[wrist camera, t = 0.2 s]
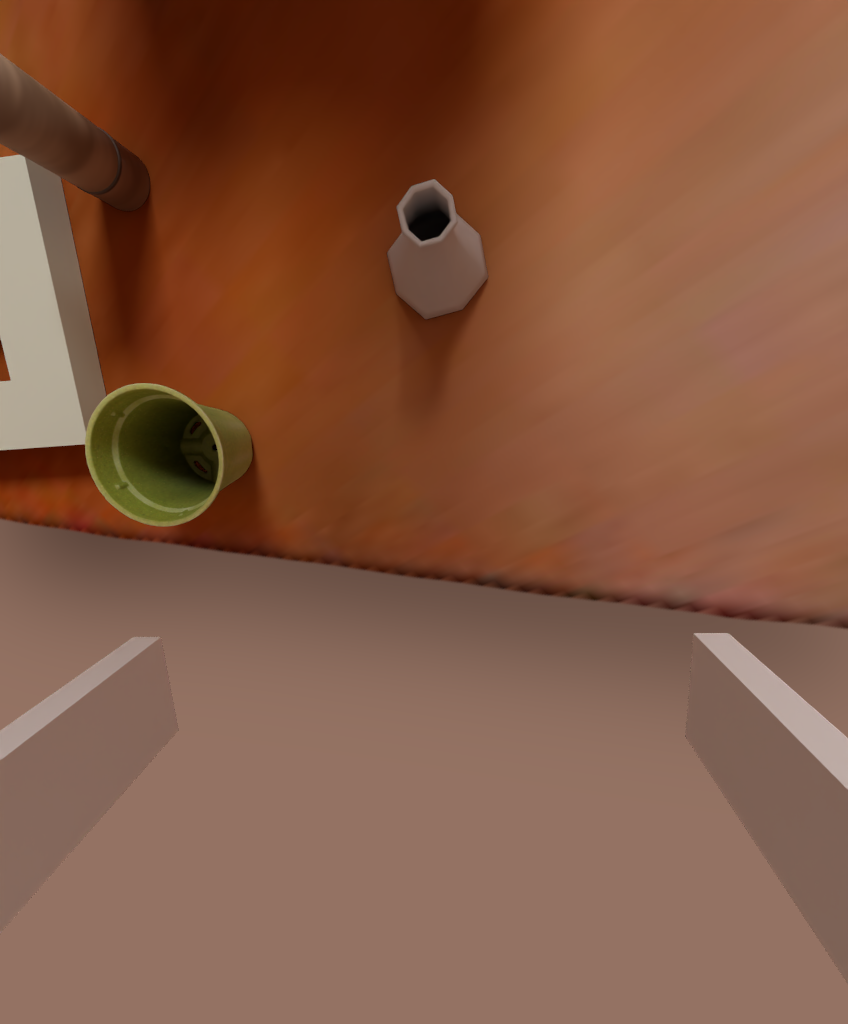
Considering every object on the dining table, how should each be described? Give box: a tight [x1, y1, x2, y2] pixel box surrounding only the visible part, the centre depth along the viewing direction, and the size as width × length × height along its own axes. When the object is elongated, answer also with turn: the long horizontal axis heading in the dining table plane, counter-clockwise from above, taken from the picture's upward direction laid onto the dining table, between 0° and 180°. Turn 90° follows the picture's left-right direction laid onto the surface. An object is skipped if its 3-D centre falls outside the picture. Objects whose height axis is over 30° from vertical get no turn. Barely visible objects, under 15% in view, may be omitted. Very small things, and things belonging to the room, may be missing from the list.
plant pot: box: [85, 383, 253, 526], centre depth 35 cm, size 9×9×9 cm
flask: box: [387, 179, 488, 319], centre depth 30 cm, size 7×7×10 cm
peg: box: [0, 54, 150, 211], centre depth 30 cm, size 4×4×12 cm
